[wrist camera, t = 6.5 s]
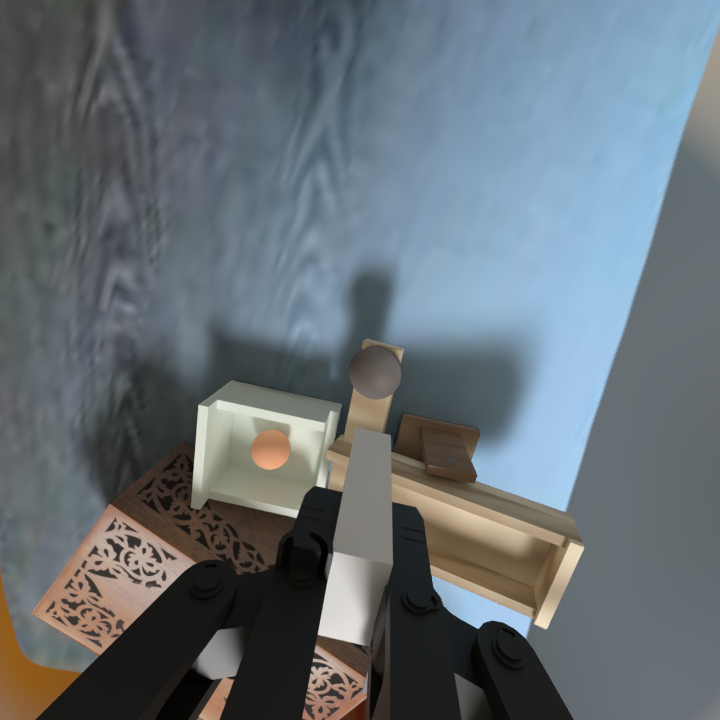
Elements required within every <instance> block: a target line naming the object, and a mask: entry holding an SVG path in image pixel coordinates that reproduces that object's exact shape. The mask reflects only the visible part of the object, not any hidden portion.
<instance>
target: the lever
mask: <svg viewBox="0 0 720 720" xmlns="http://www.w3.org/2000/svg"><path fill="white" fill-rule="evenodd" d="M403 351H404V348H401V347H397V346H393V345H390V344H386V343H382V342H378V341H375V340H371V339H365V340H363V344H362V349H361V351H359V352H358V353H357V354H356V355H355V356H354V357H353V358H352V360H351V363H350V366H349V377H350V381H351V383H352V385H353V387H354V388H353V393H352V398H351V403H350V408H349V413H348V418H347V422H346V427H345V432H344V435H343V434H341V435H340V436H339V437H338V439H337V440H336V441H335V442H334V443H333V444H332V445H331V446H330V447H329V448H328V450H327V454H326V459H328V460H331V461H333V462H332V467H331V472H330V477H329V482H328V487H327V489H331V490H336V491H340V492H342V490H343V485H344V480H345V475H346V471H347V466H348V461H349V457H350V452H351V448H352V443H353V438H354V434H355V429H356V428H361V429H365V430H370V431H374V432H379V433H384V431H385V427H386V422H387V418H388V414H389V410H390V406H391V402H392V397H393V393H394V392H395V391H396V389H397V388H398V386H399V385H400V383H401V380H402V367H401V360H402V356H403ZM391 477H392V502H395V503H400V504H404V505H409V506H413V507H416V508H417V509H418V511H419V513H420V514H421V516H422V517H423V519H424V525H425V534H426V540H427V547H428V554H429V561H430V569H431V575H433V576H435V577H438V578H440V579H442V580H445V581H447V582H449V583H452V584H454V585H456V586H459V587H461V588H463V589H465V590H468V591H470V592H472V593H475V594H477V595H479V596H482V597H484V598H486V599H489V600H491V601H493V602H496V603H498V604H500V605H503V606H505V607H507V608H510V609H512V610H514V611H516V612H519V613H521V614H523V615H526V616H528V617H530V618H533V619H534V624H535V625H538V626H540V627H542V628H545V629H547V628H548V625H549V623H550V621H551V619H552V617H553V614H554V612H555V610H556V608H557V606H558V604H559V602H560V599H561V597H562V595H563V593H564V590H565V589H566V586H567V584H568V582H569V580H570V577H571V575H572V573H573V571H574V569H575V567H576V565H577V562H578V560H579V558H580V556H581V554H582V552H583V549H584V545H583V543H582V540H581V538H580V535H579V533H578V530H577V528H576V525H575V523H574V520H573V518H572V515H571V514H569V513H566V512H563V511H560V510H557V509H554V508H552V507H549V506H546V505H543V504H540V503H537V502H534V501H531V500H529V499H526V498H523V497H520V496H517V495H514V494H511V493H509V492H506V491H503V490H500V489H497V488H494V487H491V486H489V485H486V484H483V483H480V482H477V481H475V483H470V482H465V481H461V480H456V479H452V478H447V477H442V476H438V475H433V474H429V473H426V469H425V463H423V462H420V461H417V460H414V459H411V458H408V457H406V456H403V455H400V454H397V453H394V452H391Z"/></svg>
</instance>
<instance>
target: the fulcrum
mask: <svg viewBox="0 0 720 720" xmlns="http://www.w3.org/2000/svg"><path fill="white" fill-rule="evenodd" d="M479 435H480V432H479V430H478V429H476V428H471V427H466V426H462V425H457V424H452V423H448V422H443V421H438V420H434V419H429V418H424V417H420V416H415V415H410V414H406V413H403V416H402V420H401V424H400V428H399V432H398V436H397V440H396V444H395V448H394V453H397V454H400V455H403V456H406V457H408V458H411V459H414V460H417V461H420V462H423V463H425V469H426V473H429V474H433V475H438V476H442V477H447V478H452V479H456V480H461V481H465V482H470V483H475V480H476V477H477V474H476V471H475V469H474V467H473V464H472V462H471V460H472V457H473V453H474V450H475V447H476V444H477V441H478V438H479Z"/></svg>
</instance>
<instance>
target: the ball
mask: <svg viewBox="0 0 720 720" xmlns="http://www.w3.org/2000/svg"><path fill="white" fill-rule="evenodd" d="M290 451H291V446H290V442H289V440H288V438H287V437H286V435H285V434H283V433H282V432H280V431H277V430H267V431H264V432H262V433H260V434H259V435H258V436H257V437H256V438H255V439H254V441H253V443H252V446H251V456H252V459H253V461H254V462H255V463H256V464H257V465H258V466H259V467H261V468H263V469H268V470H270V469H276V468H278V467H280V466H282V465H283V464H284V463H285V462H286V461H287V459H288V458H289V455H290Z"/></svg>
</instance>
